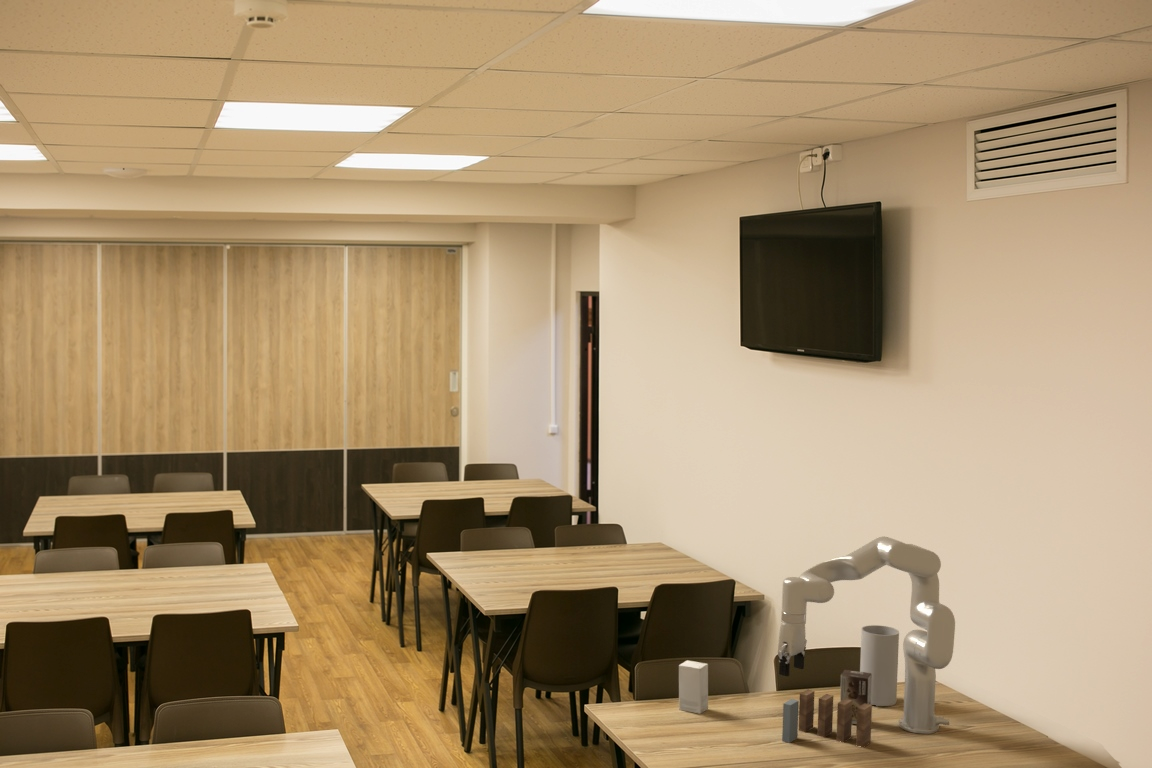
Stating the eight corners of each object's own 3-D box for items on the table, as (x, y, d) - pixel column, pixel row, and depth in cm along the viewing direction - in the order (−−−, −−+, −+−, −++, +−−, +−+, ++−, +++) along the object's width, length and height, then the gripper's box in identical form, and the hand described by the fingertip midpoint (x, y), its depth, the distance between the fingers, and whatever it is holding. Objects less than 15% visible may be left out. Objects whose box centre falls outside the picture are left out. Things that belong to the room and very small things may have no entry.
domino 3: (851, 737, 351) (852, 700, 351) (843, 742, 347) (844, 704, 346) (844, 735, 353) (845, 698, 352) (836, 740, 348) (837, 703, 348)
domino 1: (813, 727, 359) (814, 691, 359) (805, 732, 355) (806, 695, 354) (806, 725, 361) (807, 689, 360) (798, 730, 356) (799, 693, 356)
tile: (797, 737, 350) (798, 700, 349) (789, 743, 346) (790, 705, 345) (790, 736, 351) (791, 698, 351) (782, 741, 347) (783, 703, 346)
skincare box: (708, 709, 374) (709, 663, 373) (699, 715, 369) (701, 668, 368) (686, 704, 379) (687, 659, 378) (677, 709, 373) (678, 664, 372)
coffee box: (870, 721, 366) (872, 672, 365) (867, 727, 360) (868, 678, 359) (842, 716, 370) (844, 668, 369) (838, 722, 364) (840, 674, 363)
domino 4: (870, 742, 347) (871, 704, 347) (863, 747, 343) (864, 709, 342) (863, 740, 349) (864, 703, 348) (855, 745, 344) (857, 707, 344)
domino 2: (832, 732, 355) (833, 695, 355) (824, 737, 351) (825, 700, 350) (825, 730, 357) (826, 693, 356) (817, 735, 352) (818, 698, 352)
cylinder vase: (853, 695, 391) (856, 625, 390) (887, 694, 393) (890, 625, 391) (866, 707, 379) (869, 635, 377) (902, 707, 380) (904, 635, 379)
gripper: (795, 610, 355) (793, 663, 356) (769, 620, 342) (767, 675, 343) (817, 614, 351) (814, 668, 352) (791, 625, 337) (789, 681, 338)
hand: (791, 671), depth 347 cm, fingers open, 9 cm apart
